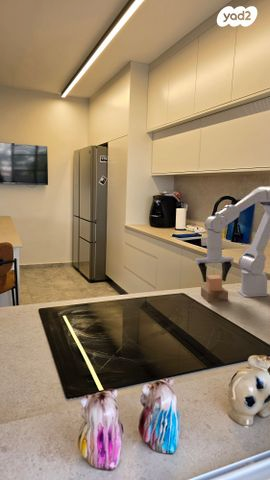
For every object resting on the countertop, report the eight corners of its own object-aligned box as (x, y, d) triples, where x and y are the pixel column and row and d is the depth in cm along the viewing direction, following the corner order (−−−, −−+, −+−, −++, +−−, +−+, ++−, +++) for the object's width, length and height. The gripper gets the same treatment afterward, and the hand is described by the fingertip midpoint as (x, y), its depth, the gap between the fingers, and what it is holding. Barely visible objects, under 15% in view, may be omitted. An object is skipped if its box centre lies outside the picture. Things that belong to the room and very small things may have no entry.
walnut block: (219, 294, 135) (219, 285, 135) (227, 301, 127) (228, 291, 127) (200, 296, 134) (200, 286, 133) (208, 303, 126) (208, 293, 126)
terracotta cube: (218, 286, 133) (218, 274, 132) (222, 290, 128) (222, 278, 127) (206, 287, 132) (206, 275, 132) (209, 291, 127) (209, 278, 127)
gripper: (198, 250, 123) (198, 284, 125) (236, 248, 124) (236, 283, 126) (194, 246, 130) (194, 279, 132) (230, 245, 131) (229, 278, 133)
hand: (214, 281), depth 130 cm, fingers open, 7 cm apart
